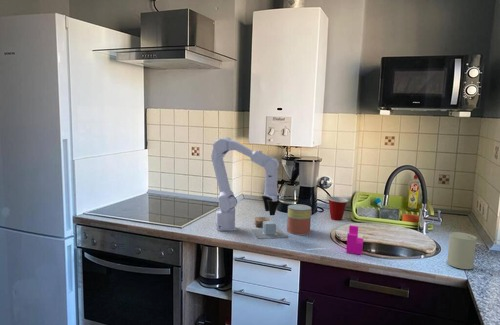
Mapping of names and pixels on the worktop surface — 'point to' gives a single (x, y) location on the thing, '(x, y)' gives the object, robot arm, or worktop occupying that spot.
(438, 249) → the worktop surface
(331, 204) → the plastic cup
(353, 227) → the toy block
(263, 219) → the walnut slab
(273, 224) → the grey cube
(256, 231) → the light gray board
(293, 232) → the canned food
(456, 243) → the can
